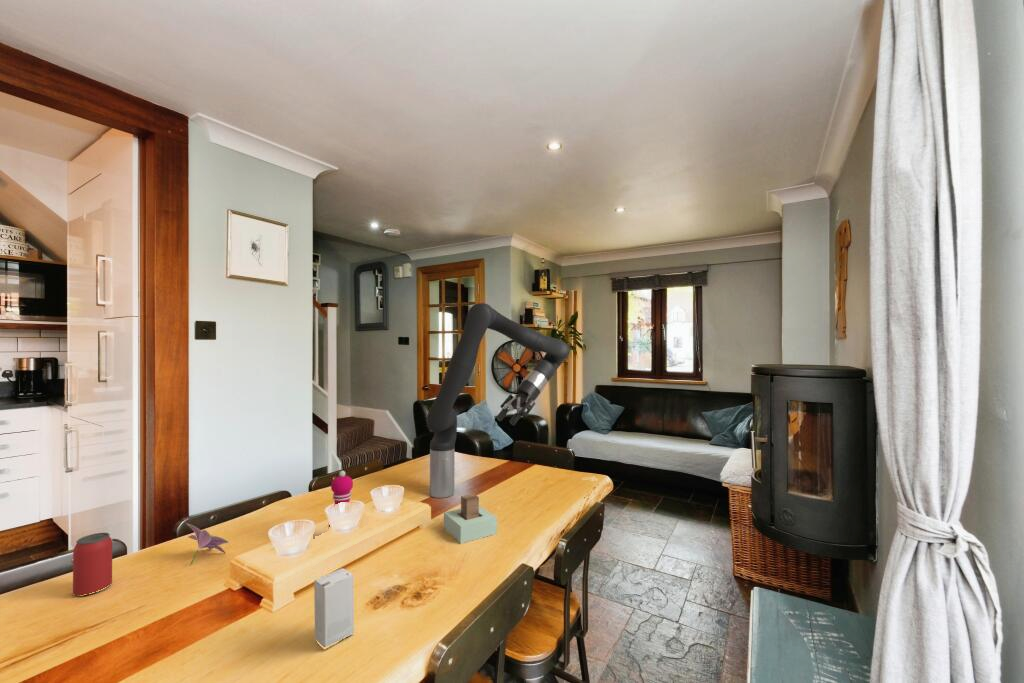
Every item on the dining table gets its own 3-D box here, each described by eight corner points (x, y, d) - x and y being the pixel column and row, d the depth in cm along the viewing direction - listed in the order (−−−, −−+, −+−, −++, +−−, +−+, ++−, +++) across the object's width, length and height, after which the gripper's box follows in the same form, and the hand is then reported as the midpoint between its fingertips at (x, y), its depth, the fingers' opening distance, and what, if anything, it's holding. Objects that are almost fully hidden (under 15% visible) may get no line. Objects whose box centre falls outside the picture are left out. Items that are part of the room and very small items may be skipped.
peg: (460, 528, 132) (460, 495, 132) (472, 525, 134) (472, 493, 134) (466, 533, 129) (467, 499, 129) (478, 530, 131) (478, 497, 131)
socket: (443, 528, 133) (443, 512, 133) (478, 520, 140) (478, 504, 140) (460, 543, 123) (460, 526, 123) (496, 533, 130) (497, 517, 130)
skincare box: (343, 626, 87) (343, 565, 87) (354, 635, 84) (355, 573, 84) (312, 642, 82) (312, 578, 83) (324, 653, 80) (324, 587, 80)
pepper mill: (359, 534, 129) (359, 467, 129) (347, 545, 122) (348, 474, 122) (336, 533, 130) (336, 466, 130) (323, 544, 123) (323, 474, 123)
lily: (228, 567, 112) (241, 527, 117) (176, 564, 105) (192, 521, 110) (214, 567, 119) (227, 529, 124) (163, 564, 112) (179, 524, 117)
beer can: (118, 584, 102) (119, 533, 102) (83, 600, 96) (84, 545, 96) (101, 579, 104) (101, 529, 104) (65, 594, 98) (66, 541, 98)
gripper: (515, 377, 157) (487, 411, 151) (538, 380, 145) (509, 417, 139) (527, 391, 160) (500, 425, 154) (550, 395, 148) (522, 432, 142)
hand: (504, 421), depth 146 cm, fingers open, 8 cm apart
